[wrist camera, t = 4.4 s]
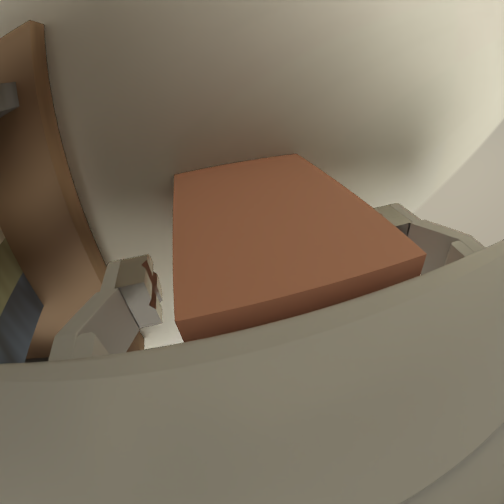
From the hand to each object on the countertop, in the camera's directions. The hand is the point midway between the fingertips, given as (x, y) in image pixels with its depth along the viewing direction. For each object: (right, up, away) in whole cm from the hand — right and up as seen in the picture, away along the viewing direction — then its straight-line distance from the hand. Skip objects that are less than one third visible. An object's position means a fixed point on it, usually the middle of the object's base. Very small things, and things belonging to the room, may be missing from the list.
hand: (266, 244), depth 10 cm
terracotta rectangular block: (-1, +3, +4) cm, 5 cm away
